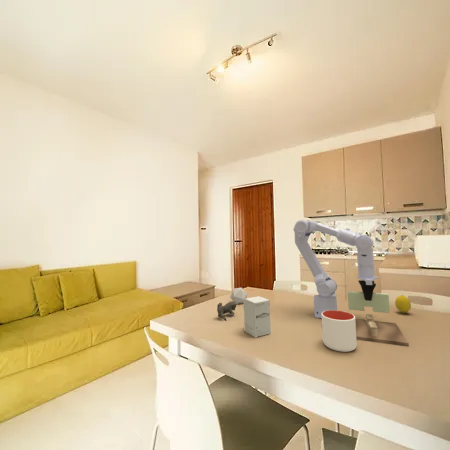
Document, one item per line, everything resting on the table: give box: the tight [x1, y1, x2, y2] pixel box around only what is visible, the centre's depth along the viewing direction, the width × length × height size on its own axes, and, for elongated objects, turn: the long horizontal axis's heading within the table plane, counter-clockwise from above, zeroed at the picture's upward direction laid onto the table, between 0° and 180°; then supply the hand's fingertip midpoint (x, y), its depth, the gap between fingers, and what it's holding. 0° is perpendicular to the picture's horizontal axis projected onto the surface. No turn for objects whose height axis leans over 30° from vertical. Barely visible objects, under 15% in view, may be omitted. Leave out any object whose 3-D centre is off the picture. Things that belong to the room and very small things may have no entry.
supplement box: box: [243, 295, 272, 338], centre depth 91 cm, size 7×7×13 cm
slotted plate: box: [347, 290, 391, 314], centre depth 96 cm, size 14×2×7 cm, turn 66°
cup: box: [321, 309, 358, 353], centre depth 78 cm, size 10×10×10 cm
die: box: [229, 287, 248, 305], centre depth 130 cm, size 8×9×10 cm
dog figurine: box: [216, 301, 238, 321], centre depth 110 cm, size 12×6×8 cm, turn 135°
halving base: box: [355, 313, 410, 347], centre depth 88 cm, size 18×18×4 cm
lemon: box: [394, 294, 412, 314], centre depth 105 cm, size 6×6×8 cm
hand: (367, 299), depth 96 cm, fingers closed on slotted plate, 2 cm apart
